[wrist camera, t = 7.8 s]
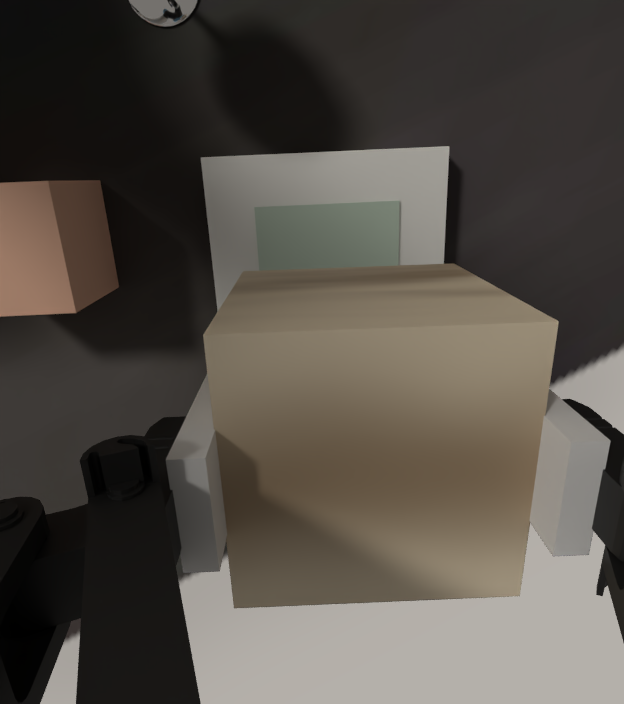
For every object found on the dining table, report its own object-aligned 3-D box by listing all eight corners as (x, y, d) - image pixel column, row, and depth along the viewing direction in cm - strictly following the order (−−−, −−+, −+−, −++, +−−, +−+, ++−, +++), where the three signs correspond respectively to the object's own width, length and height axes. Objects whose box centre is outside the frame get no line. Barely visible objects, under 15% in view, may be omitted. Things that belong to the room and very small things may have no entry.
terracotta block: (-8, 185, 31) (-90, 186, 25) (100, 180, 32) (48, 180, 25) (18, 291, 34) (-50, 318, 27) (119, 286, 34) (76, 312, 27)
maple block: (243, 271, 16) (203, 335, 10) (453, 263, 16) (558, 321, 10) (257, 455, 18) (234, 608, 12) (441, 447, 19) (519, 596, 12)
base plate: (206, 158, 31) (199, 157, 29) (440, 148, 31) (450, 146, 29) (229, 375, 36) (225, 387, 34) (431, 365, 36) (439, 377, 34)
